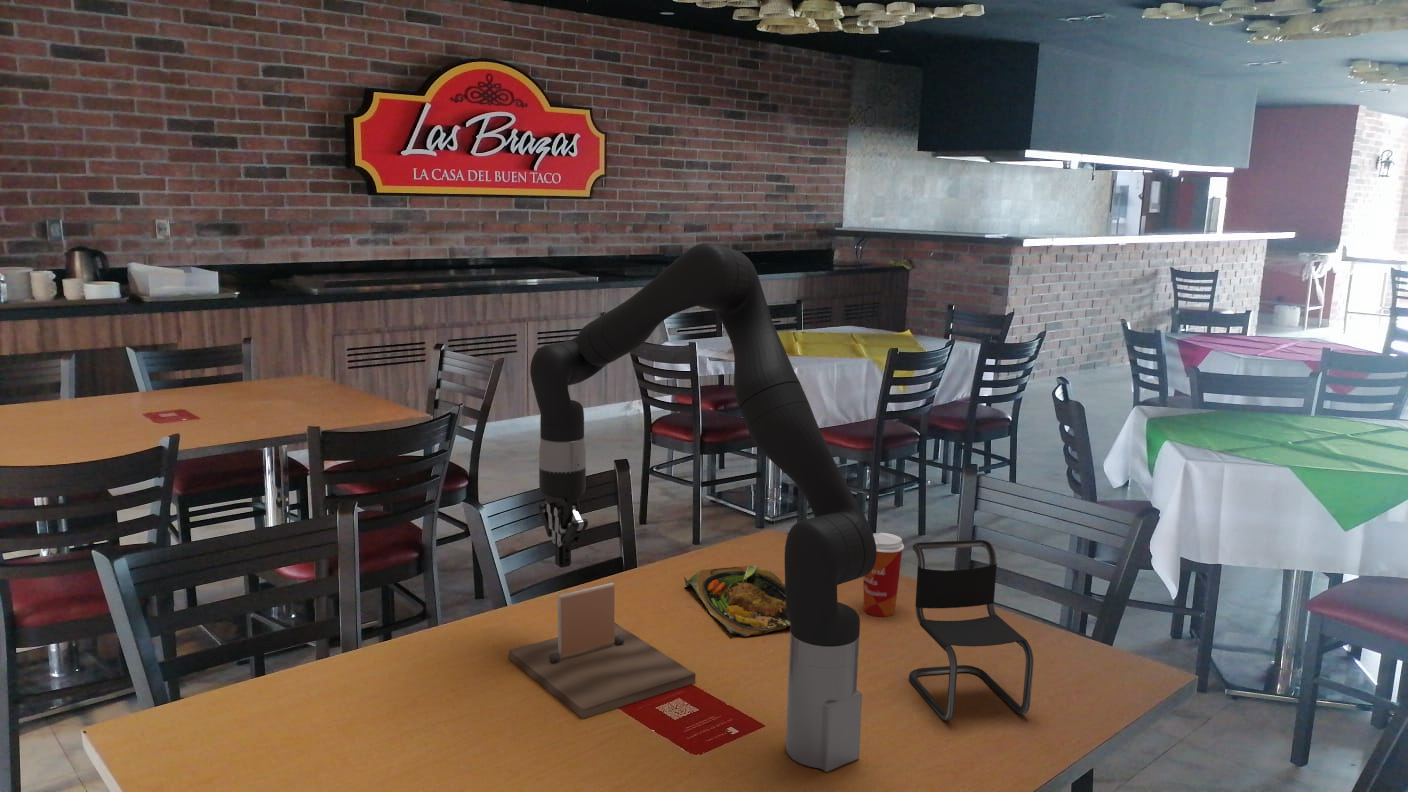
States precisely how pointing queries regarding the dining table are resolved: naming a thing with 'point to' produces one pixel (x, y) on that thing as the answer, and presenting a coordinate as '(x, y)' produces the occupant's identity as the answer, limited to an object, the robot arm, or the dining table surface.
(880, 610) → the paper cup
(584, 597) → the tile
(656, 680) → the walnut board
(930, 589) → the chair
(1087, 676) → the dining table surface
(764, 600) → the prepared meal
